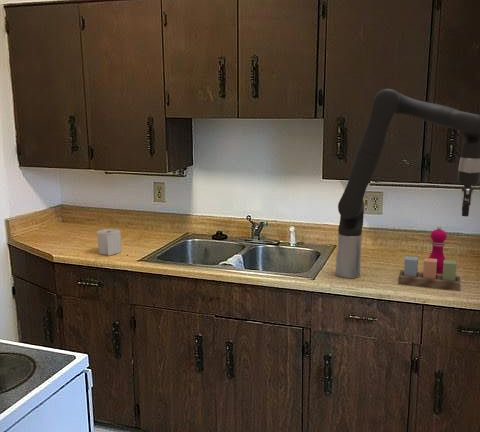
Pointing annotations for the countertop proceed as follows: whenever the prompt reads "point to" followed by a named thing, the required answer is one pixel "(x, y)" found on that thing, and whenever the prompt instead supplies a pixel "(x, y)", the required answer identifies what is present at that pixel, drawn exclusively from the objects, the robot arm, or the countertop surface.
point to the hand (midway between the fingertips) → (464, 213)
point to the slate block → (410, 266)
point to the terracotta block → (430, 268)
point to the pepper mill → (438, 248)
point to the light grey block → (109, 241)
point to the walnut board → (429, 281)
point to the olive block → (449, 270)
